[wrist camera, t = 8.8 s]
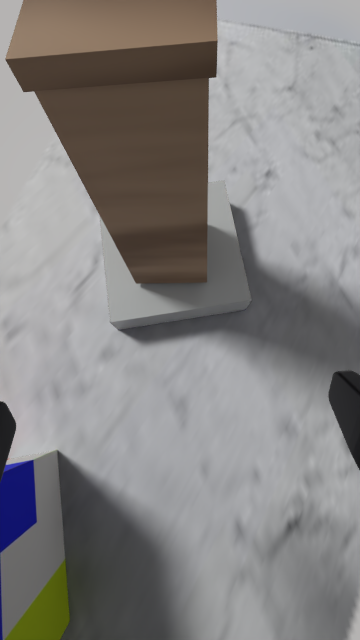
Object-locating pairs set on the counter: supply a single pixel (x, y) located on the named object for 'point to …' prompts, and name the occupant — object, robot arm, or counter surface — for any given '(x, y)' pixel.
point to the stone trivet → (181, 298)
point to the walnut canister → (130, 117)
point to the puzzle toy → (32, 550)
